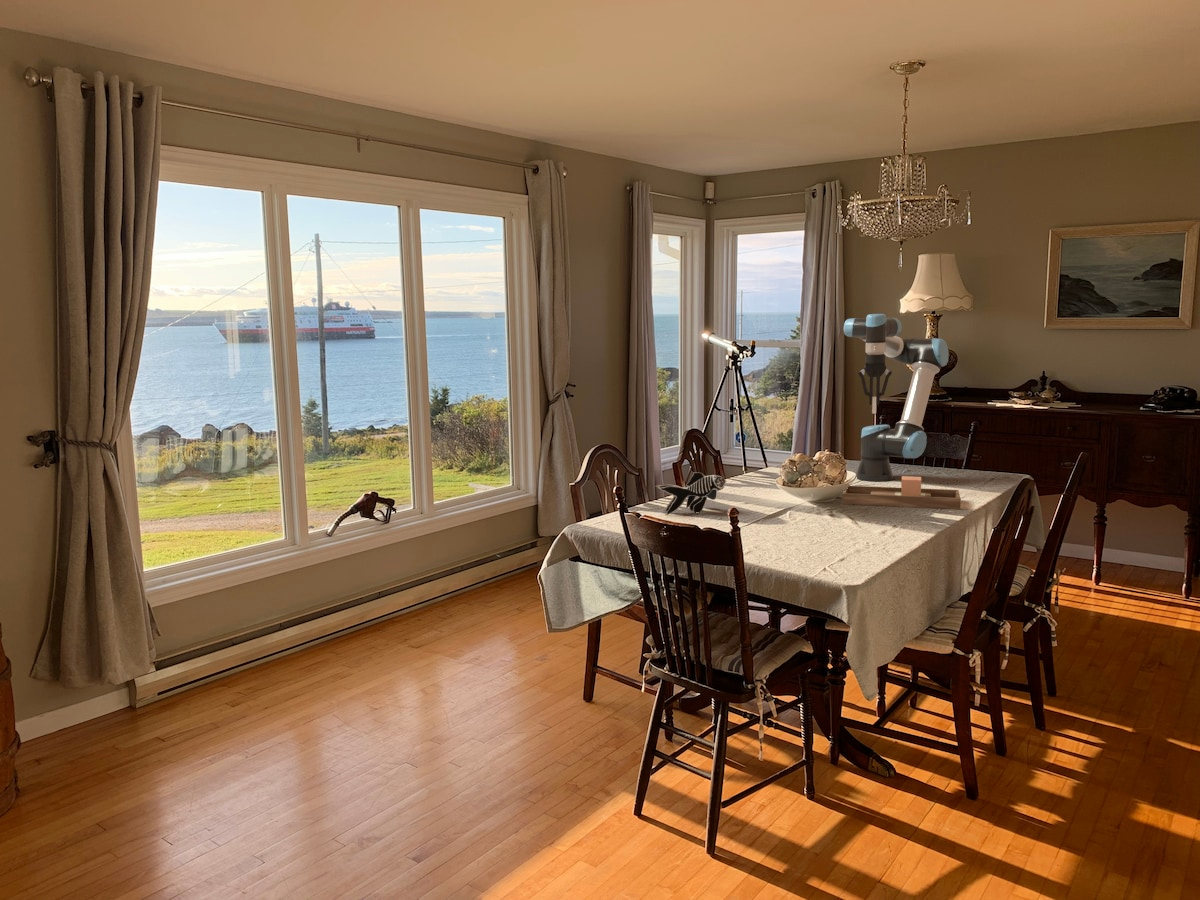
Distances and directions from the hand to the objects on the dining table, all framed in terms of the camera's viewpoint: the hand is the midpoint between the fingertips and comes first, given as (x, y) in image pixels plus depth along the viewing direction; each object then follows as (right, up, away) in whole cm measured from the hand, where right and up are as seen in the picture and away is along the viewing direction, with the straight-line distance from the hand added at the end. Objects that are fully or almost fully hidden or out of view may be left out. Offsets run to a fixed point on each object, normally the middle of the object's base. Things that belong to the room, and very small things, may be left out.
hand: (874, 413), depth 357 cm
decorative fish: (-75, -38, -21) cm, 86 cm away
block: (+9, -32, -15) cm, 37 cm away
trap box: (+6, -35, -13) cm, 38 cm away
